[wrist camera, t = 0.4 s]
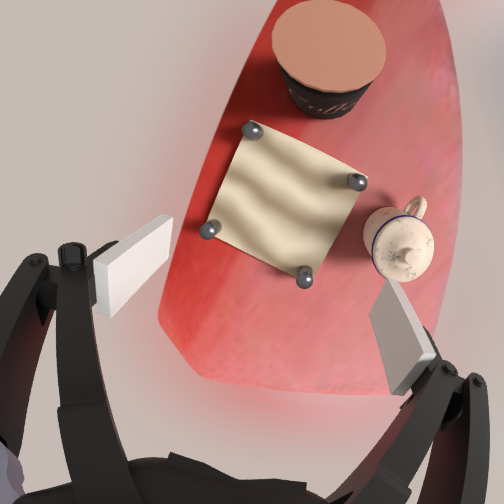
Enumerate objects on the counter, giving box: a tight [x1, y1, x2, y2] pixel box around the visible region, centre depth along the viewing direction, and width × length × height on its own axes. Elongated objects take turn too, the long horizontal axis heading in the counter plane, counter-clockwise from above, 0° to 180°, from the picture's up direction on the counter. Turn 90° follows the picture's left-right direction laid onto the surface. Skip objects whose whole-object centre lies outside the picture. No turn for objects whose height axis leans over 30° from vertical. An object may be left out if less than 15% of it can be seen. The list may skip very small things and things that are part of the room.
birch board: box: [206, 120, 368, 278], centre depth 42 cm, size 19×19×2 cm
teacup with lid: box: [363, 196, 434, 282], centre depth 34 cm, size 12×9×12 cm
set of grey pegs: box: [199, 121, 367, 289], centre depth 39 cm, size 18×18×4 cm
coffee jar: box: [272, 0, 386, 119], centre depth 27 cm, size 11×11×18 cm
